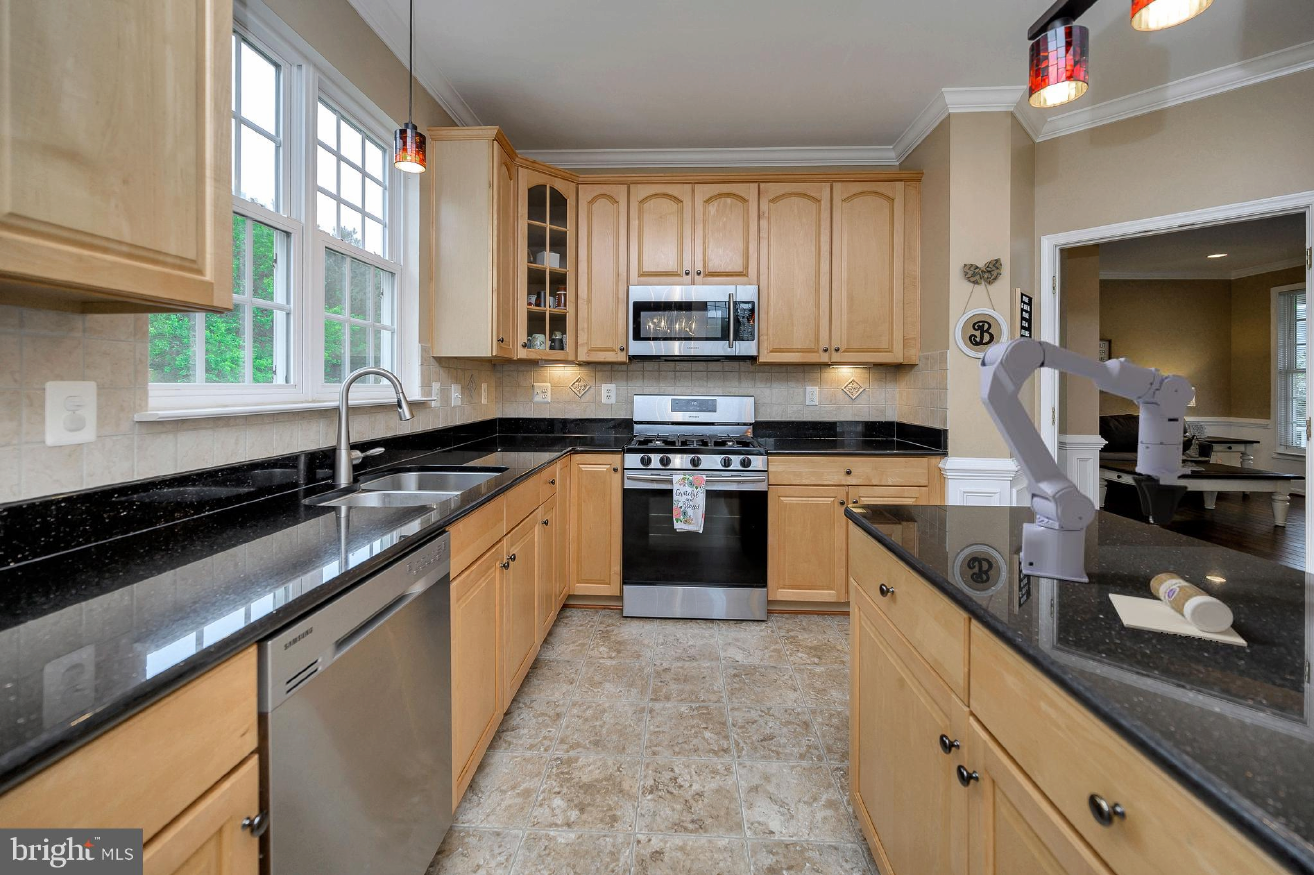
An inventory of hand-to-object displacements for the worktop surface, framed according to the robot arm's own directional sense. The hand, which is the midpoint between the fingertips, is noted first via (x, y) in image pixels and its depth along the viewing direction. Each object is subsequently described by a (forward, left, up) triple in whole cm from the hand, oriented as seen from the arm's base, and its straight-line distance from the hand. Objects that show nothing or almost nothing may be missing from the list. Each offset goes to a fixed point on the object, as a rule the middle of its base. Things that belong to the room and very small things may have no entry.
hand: (1156, 519), depth 96 cm
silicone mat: (-2, -23, -10) cm, 25 cm away
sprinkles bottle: (-1, -14, -8) cm, 16 cm away
